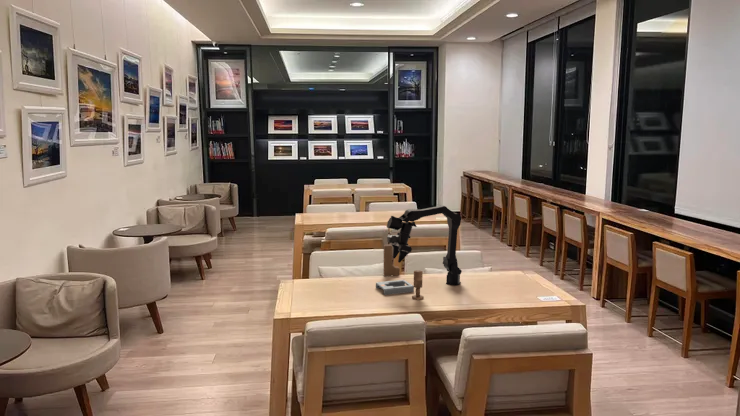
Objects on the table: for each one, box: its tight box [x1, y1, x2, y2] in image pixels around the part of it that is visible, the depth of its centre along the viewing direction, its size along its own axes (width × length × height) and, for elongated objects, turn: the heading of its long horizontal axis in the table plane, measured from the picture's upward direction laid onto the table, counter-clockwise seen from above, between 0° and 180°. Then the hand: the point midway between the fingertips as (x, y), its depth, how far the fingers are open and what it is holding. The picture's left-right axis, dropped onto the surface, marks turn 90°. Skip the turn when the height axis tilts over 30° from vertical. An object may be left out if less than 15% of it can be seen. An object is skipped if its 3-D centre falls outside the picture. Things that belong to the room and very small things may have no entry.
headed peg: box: [411, 270, 425, 301], centre depth 273 cm, size 6×6×14 cm
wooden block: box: [383, 243, 401, 277], centre depth 316 cm, size 9×4×18 cm, turn 95°
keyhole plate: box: [375, 279, 415, 296], centre depth 288 cm, size 16×13×3 cm
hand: (396, 260), depth 289 cm, fingers open, 9 cm apart
